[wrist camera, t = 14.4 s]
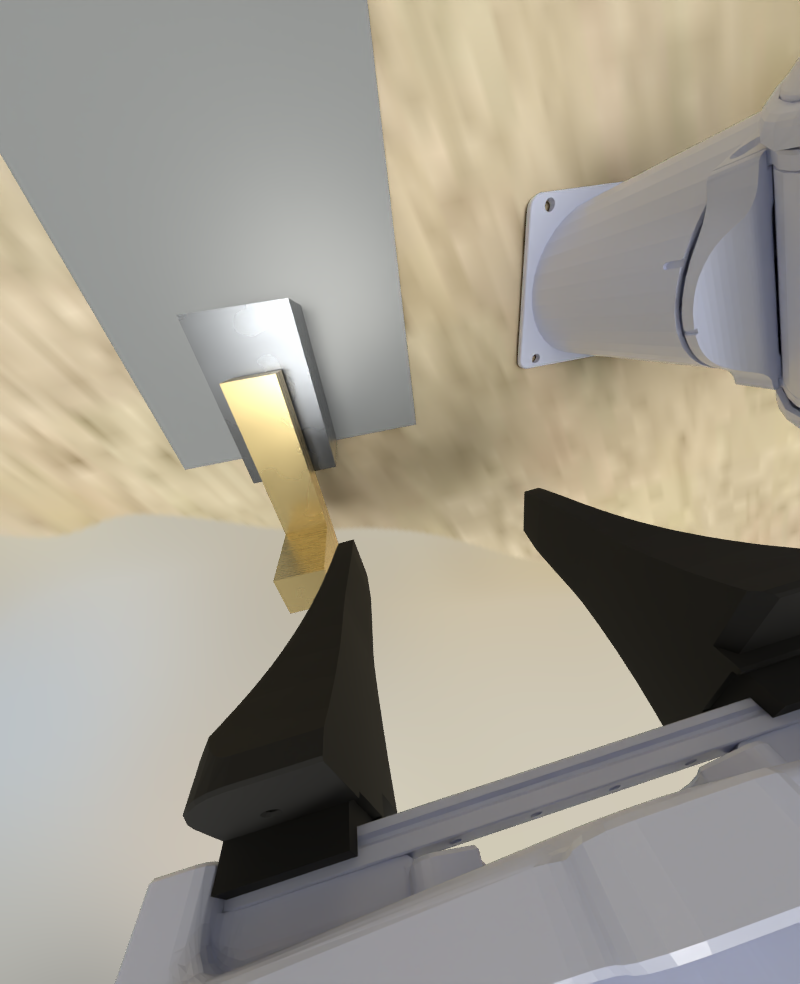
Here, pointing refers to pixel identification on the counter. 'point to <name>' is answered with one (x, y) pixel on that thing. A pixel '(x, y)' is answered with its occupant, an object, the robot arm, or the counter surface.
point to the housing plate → (217, 203)
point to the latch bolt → (285, 482)
